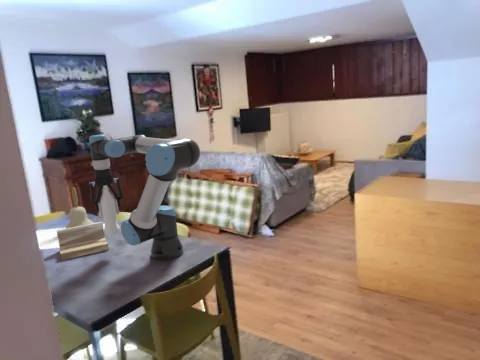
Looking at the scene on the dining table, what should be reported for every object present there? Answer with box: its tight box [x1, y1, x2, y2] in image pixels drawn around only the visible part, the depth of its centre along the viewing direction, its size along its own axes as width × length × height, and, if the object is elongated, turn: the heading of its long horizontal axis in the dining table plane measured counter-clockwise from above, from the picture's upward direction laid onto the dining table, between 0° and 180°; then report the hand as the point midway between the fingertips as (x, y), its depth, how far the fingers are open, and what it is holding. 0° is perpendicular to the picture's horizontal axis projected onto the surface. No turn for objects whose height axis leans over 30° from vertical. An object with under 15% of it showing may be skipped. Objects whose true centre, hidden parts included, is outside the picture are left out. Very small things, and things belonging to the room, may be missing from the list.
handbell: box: [65, 186, 94, 228], centre depth 238 cm, size 15×15×25 cm
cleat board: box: [56, 221, 110, 261], centre depth 205 cm, size 14×22×11 cm, turn 115°
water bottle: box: [99, 185, 121, 238], centre depth 195 cm, size 7×7×25 cm
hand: (109, 215), depth 196 cm, fingers closed on water bottle, 7 cm apart
